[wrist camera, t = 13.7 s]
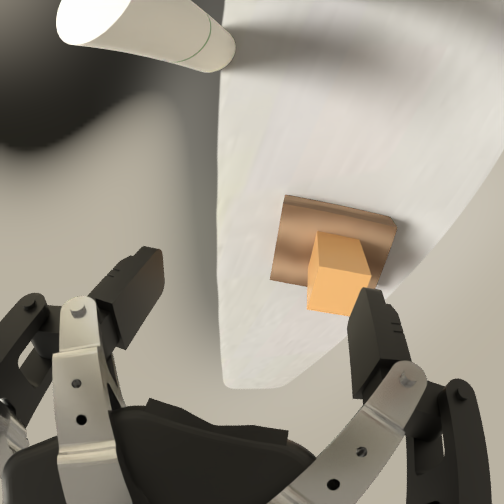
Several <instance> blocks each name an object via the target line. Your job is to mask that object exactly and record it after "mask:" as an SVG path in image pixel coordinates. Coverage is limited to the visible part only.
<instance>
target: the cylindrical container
mask: <svg viewBox="0 0 504 504" xmlns="http://www.w3.org/2000/svg"><path fill="white" fill-rule="evenodd" d="M56 26H57V32H58V34H59V36H60V38H61V39H62V40H63V41H64V42H66V43H68V44H72V45H79V46H88V47H95V48H102V49H109V50H115V51H121V52H126V53H131V54H136V55H141V56H145V57H150V58H154V59H158V60H162V61H166V62H170V63H174V64H177V65H181V66H185V67H188V68H191V69H195V70H198V71H201V72H215V71H218V70H221V69H222V68H224V67H225V66H227V65H228V64H229V63H230V61H231V60H232V58H233V57H234V54H235V49H236V46H235V41H234V39H233V37H232V36H231V35H230V34H229V33H228V32H227V31H226V30H225V29H224V28H223V27H222V26H221V25H219V24H218V23H217V22H216V21H215V20H214V19H213V18H211V17H210V16H209V15H208V14H207V13H205V12H204V11H203V10H202V9H201V8H199V7H198V6H197V5H196V4H195V3H193V2H192V1H191V0H62V1H61V3H60V6H59V9H58V13H57V19H56Z"/></svg>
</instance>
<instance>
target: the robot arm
mask: <svg viewBox="0 0 504 504" xmlns="http://www.w3.org/2000/svg"><path fill="white" fill-rule="evenodd" d="M164 283H165V279H164V268H163V256H162V251H161V250H160V249H156V248H151V247H146V246H143V247H141V249H139V251H138V252H137V253H136V254H135V255H134V256H129V257H127V258H125V259H123V260H121V261H120V262H119V263H118V264H117V265H116V266H115V267H114V268H113V270H111V271H110V272H109V273H108V274H107V276H105V277H104V278H103V279H102V281H101V282H100V283H99V284H98V285H97V286H96V287H95V288H94V289H93V290H92V291H91V293H90V294H89V295H88V296H77V297H74V298H71V299H70V300H68V301H67V302H66V303H65V304H64V305H63V306H51V305H50V306H49V305H47V303H46V300H45V298H44V296H43V295H41V294H39V293H31V294H28V295H26V296H24V297H23V298H21V299H20V300H19V301H18V302H17V303H16V304H15V306H14V307H13V308H12V309H11V310H10V311H9V312H8V314H7V315H6V316H5V317H4V318H3V319H2V320H1V322H0V478H1V479H2V491H3V504H355V503H356V502H357V501H358V499H359V498H360V497H361V496H362V495H363V494H364V493H365V491H366V490H367V489H368V488H369V486H370V485H371V484H372V482H373V481H374V480H375V478H376V477H377V476H378V474H379V473H380V472H381V470H382V469H383V467H384V466H385V465H386V463H387V462H388V460H389V459H390V457H391V456H392V454H393V453H394V451H395V450H396V448H397V447H398V445H399V443H400V442H401V440H402V439H403V437H404V435H406V448H407V498H406V504H492V500H491V482H490V471H489V463H488V455H487V448H486V442H485V436H484V431H483V427H482V421H481V417H480V412H479V408H478V404H477V400H476V396H475V392H474V390H473V388H472V387H471V386H470V385H469V384H468V383H467V382H466V381H464V380H462V379H453V380H451V381H450V382H449V383H448V384H447V385H446V386H441V385H439V384H436V383H432V382H430V381H427V378H426V375H425V373H424V371H423V370H422V369H421V368H420V367H419V366H418V365H417V364H415V363H413V362H412V361H411V358H410V353H409V350H408V346H407V342H406V339H405V335H404V334H403V329H402V326H401V322H400V319H399V316H398V313H397V312H396V311H395V309H394V308H393V307H392V306H391V305H390V304H386V303H385V300H384V297H383V293H382V291H381V290H378V289H372V288H366V287H363V288H362V289H361V290H360V293H359V295H358V298H357V300H356V303H355V305H354V307H353V310H352V312H351V315H350V317H349V321H348V327H347V333H348V343H349V353H350V365H351V378H352V394H353V399H363V406H362V407H361V409H360V410H359V411H358V412H357V413H356V415H355V416H354V417H353V418H352V419H351V421H350V422H349V423H348V424H347V425H346V426H345V428H344V429H343V430H342V431H341V432H340V433H339V435H337V437H336V438H335V439H334V440H333V441H332V442H331V443H330V444H329V445H328V446H327V447H326V448H325V449H324V450H323V451H322V452H321V453H320V454H319V455H318V456H317V457H315V456H314V455H313V454H312V453H311V452H310V451H308V450H307V449H306V448H304V447H303V446H301V445H299V444H297V443H295V442H293V441H291V440H288V439H287V437H288V430H280V429H273V428H267V427H261V426H255V425H245V426H244V425H241V426H217V425H213V424H210V423H208V422H206V421H204V420H202V419H200V418H198V417H197V416H195V415H193V414H191V413H189V412H188V411H186V410H184V409H182V408H179V407H176V406H173V405H170V404H166V403H163V402H160V401H157V400H154V399H152V398H149V400H148V402H147V404H146V406H127V407H126V405H125V402H124V399H123V397H122V394H121V390H120V385H119V381H118V376H117V371H116V366H115V361H114V356H113V353H112V352H113V350H114V348H115V347H119V348H121V349H124V350H126V349H127V347H128V346H129V344H130V343H131V341H132V339H133V338H134V336H135V335H136V333H137V331H138V330H139V328H140V326H141V325H142V324H143V322H144V320H145V319H146V317H147V316H148V314H149V313H150V311H151V310H152V308H153V306H154V305H155V304H156V302H157V300H158V299H159V297H160V296H161V294H162V292H163V289H164ZM30 341H31V342H32V344H33V346H34V348H33V350H32V351H31V353H30V354H29V355H28V357H27V358H26V360H25V361H24V363H23V364H22V366H21V367H20V369H19V367H18V359H19V356H20V355H21V353H22V352H23V350H24V349H25V348H26V346H27V345H28V344H29V342H30ZM52 380H53V397H54V409H55V420H56V428H57V436H55V437H52V438H50V439H47V440H45V441H43V442H40V443H37V444H35V445H32V446H30V447H28V446H29V441H28V439H27V438H26V437H27V432H26V427H27V425H28V423H29V421H30V419H31V417H32V415H33V413H34V412H35V410H36V408H37V406H38V404H39V403H40V401H41V399H42V397H43V396H44V394H45V392H46V390H47V389H48V387H49V385H50V384H51V382H52ZM442 434H443V438H444V448H445V455H443V446H442V445H443V444H442V436H441V435H442Z"/></svg>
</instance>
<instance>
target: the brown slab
mask: <svg viewBox="0 0 504 504" xmlns="http://www.w3.org/2000/svg"><path fill="white" fill-rule="evenodd" d="M396 230H397V226H396V225H395V223H394V222H393V220H392V219H391V218H390V217H388V216H384V215H380V214H376V213H371V212H367V211H363V210H358V209H354V208H349V207H345V206H340V205H335V204H331V203H326V202H321V201H316V200H311V199H306V198H300V197H295V196H290V195H285V198H284V202H283V207H282V213H281V219H280V225H279V231H278V237H277V242H276V248H275V254H274V259H273V265H272V271H271V276H270V280H274V281H279V282H284V283H289V284H295V285H300V286H306V287H308V266H309V262H310V258H311V254H312V250H313V246H314V242H315V238H316V233H317V231H320V232H325V233H330V234H335V235H340V236H345V237H350V238H354V239H359V240H360V243H361V246H362V249H363V252H364V254H365V257H366V260H367V263H368V266H369V269H370V273H371V279H370V281H369V284H368V286H367V288H372V289H375V287H376V285H377V282H378V280H379V277H380V275H381V272H382V270H383V267H384V264H385V262H386V259H387V256H388V254H389V251H390V248H391V245H392V242H393V239H394V236H395V233H396Z"/></svg>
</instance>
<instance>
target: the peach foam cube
mask: <svg viewBox="0 0 504 504" xmlns="http://www.w3.org/2000/svg"><path fill="white" fill-rule="evenodd" d="M370 279H371V273H370V269H369V266H368V263H367V260H366V257H365V254H364V252H363V249H362V246H361V243H360V240H359V239H354V238H350V237H345V236H340V235H335V234H330V233H325V232H320V231H317V233H316V238H315V242H314V246H313V250H312V254H311V258H310V262H309V266H308V288H307V309H308V310H314V311H320V312H326V313H332V314H338V315H344V316H350V315H351V312H352V310H353V307H354V305H355V303H356V300H357V298H358V295H359V293H360V290H361V289H362V288H363V287H366V288H367V286H368V284H369V281H370Z"/></svg>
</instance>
